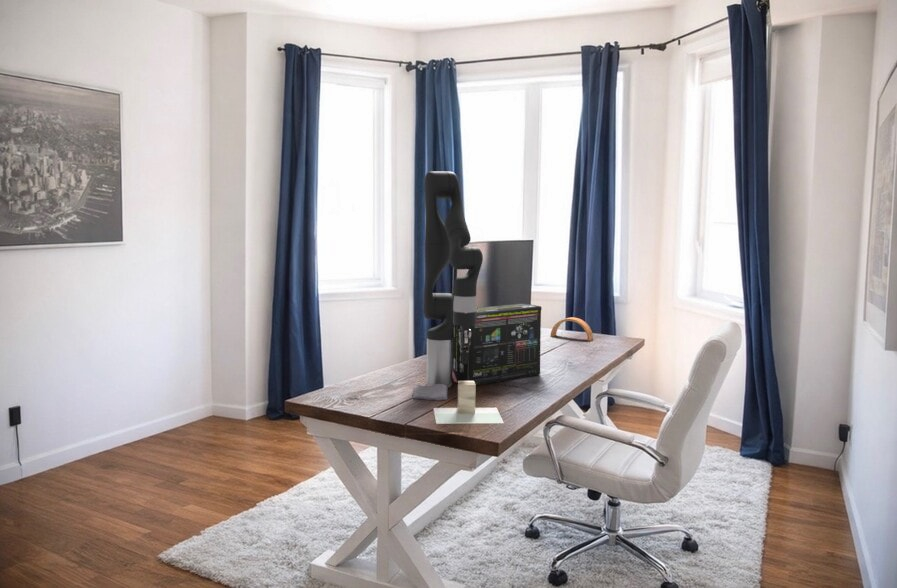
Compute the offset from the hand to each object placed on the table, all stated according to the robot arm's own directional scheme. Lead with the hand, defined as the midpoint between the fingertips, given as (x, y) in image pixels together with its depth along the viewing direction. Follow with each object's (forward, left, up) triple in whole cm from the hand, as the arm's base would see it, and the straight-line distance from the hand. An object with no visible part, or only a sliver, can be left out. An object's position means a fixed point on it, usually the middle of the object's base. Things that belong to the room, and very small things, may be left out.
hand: (464, 363), depth 229 cm
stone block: (-8, -10, -14) cm, 19 cm away
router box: (-35, +16, -14) cm, 41 cm away
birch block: (+9, 0, -13) cm, 16 cm away
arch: (-115, +64, -14) cm, 133 cm away
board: (+13, 0, -14) cm, 19 cm away
